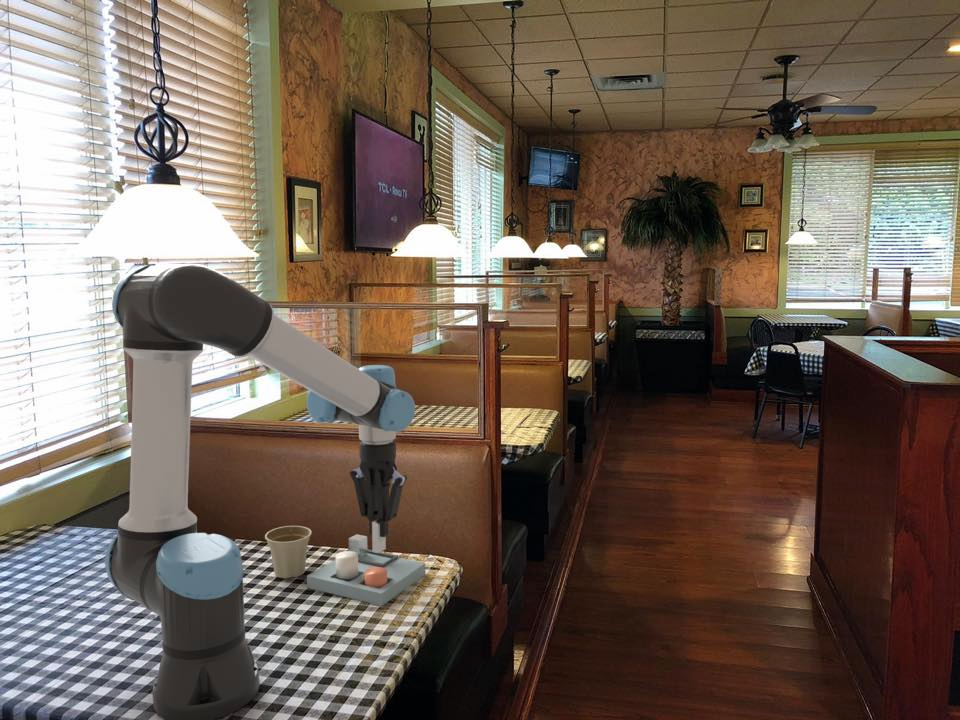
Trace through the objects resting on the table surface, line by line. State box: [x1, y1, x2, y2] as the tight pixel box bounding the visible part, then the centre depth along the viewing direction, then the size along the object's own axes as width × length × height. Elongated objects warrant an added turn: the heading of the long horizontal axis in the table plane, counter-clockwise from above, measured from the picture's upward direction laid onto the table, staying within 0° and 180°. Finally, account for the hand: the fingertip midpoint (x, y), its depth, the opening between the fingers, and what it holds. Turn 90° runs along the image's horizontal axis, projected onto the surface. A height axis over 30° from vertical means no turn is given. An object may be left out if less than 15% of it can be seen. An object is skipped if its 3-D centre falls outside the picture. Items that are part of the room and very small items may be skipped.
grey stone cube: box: [348, 533, 368, 559], centre depth 159 cm, size 3×3×4 cm
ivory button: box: [335, 550, 358, 579], centre depth 149 cm, size 4×4×4 cm
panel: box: [306, 548, 426, 607], centre depth 152 cm, size 16×18×3 cm
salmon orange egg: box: [365, 567, 387, 589], centre depth 146 cm, size 4×4×4 cm
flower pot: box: [264, 525, 312, 580], centre depth 156 cm, size 9×9×9 cm
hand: (379, 550), depth 156 cm, fingers closed
